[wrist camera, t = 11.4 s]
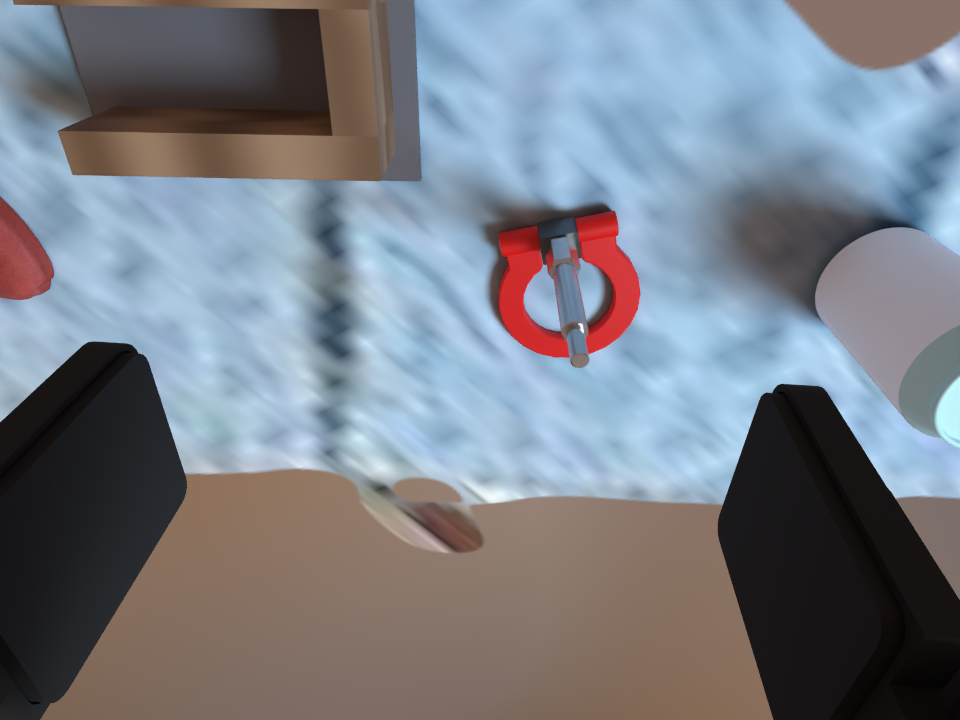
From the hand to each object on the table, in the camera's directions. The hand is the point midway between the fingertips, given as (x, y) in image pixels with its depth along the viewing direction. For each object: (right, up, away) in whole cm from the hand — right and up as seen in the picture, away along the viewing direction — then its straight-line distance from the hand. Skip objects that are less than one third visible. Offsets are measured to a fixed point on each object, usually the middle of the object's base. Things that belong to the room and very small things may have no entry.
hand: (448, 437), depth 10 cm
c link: (-11, +16, +21) cm, 29 cm away
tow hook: (+6, +6, +29) cm, 30 cm away
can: (+24, +6, +28) cm, 37 cm away
